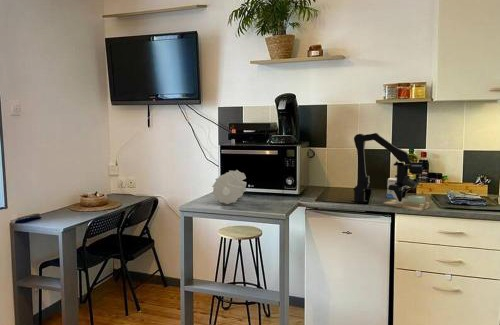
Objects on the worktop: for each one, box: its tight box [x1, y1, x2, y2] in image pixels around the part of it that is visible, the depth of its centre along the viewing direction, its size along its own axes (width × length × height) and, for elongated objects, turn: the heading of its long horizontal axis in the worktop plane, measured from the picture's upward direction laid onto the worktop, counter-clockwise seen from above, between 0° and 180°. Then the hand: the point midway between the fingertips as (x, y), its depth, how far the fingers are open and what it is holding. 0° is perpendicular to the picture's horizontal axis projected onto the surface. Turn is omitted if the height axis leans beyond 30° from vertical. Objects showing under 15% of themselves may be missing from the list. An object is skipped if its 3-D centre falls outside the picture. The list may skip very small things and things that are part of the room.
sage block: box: [395, 194, 426, 204], centre depth 214 cm, size 5×15×5 cm, turn 40°
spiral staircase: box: [212, 169, 247, 205], centre depth 232 cm, size 18×18×25 cm
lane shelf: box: [382, 199, 431, 212], centre depth 215 cm, size 12×21×3 cm, turn 40°
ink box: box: [386, 177, 397, 200], centre depth 236 cm, size 9×5×12 cm, turn 62°
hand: (401, 201), depth 218 cm, fingers closed on sage block, 2 cm apart
